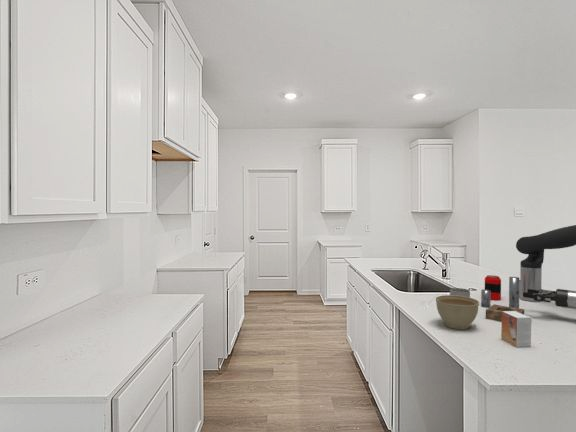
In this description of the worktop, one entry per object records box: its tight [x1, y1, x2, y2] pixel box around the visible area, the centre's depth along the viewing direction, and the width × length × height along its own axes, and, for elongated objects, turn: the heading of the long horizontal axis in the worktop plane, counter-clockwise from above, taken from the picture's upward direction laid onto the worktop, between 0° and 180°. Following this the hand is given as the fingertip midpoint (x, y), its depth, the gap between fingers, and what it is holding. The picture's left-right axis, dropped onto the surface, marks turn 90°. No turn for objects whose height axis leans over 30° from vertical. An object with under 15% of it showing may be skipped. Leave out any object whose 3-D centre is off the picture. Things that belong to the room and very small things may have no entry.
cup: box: [449, 287, 471, 298], centre depth 168 cm, size 8×8×10 cm
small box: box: [500, 311, 532, 348], centre depth 129 cm, size 8×6×10 cm
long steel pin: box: [508, 276, 520, 309], centre depth 167 cm, size 4×4×16 cm
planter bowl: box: [435, 294, 480, 330], centre depth 147 cm, size 16×16×11 cm
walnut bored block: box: [485, 303, 525, 323], centre depth 156 cm, size 12×12×4 cm
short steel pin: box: [480, 288, 492, 309], centre depth 175 cm, size 4×4×8 cm
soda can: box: [484, 274, 502, 301], centre depth 190 cm, size 8×8×12 cm
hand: (525, 292), depth 163 cm, fingers open, 8 cm apart
